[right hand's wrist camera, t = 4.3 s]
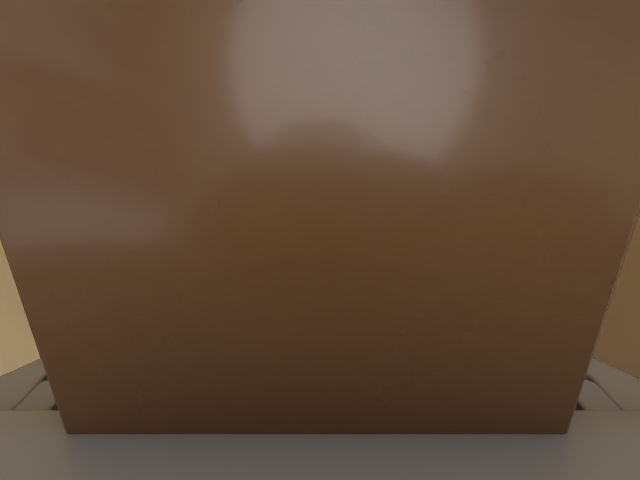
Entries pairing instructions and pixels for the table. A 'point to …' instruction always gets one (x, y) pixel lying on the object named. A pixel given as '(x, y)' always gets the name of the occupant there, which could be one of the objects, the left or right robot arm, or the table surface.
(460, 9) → the box
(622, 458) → the right robot arm
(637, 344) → the table surface
